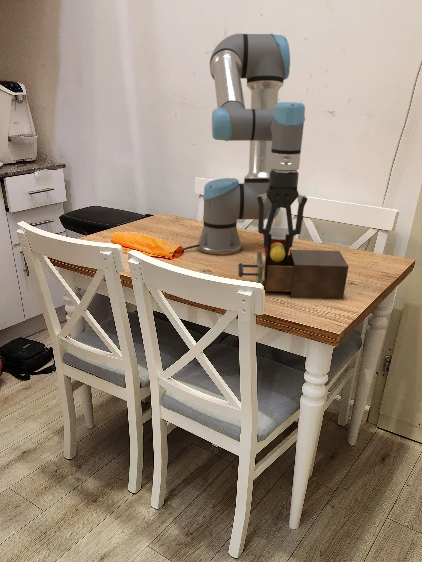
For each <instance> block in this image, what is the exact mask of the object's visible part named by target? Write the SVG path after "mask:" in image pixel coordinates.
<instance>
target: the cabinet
mask: <svg viewBox="0 0 422 562" xmlns="http://www.w3.org/2000/svg"><path fill="white" fill-rule="evenodd" d="M289 255H291V257H292V261H293V264H294V273H293V282H292V291H291V292H289V295H290V298H296V299H297V298H298V299H299V298H300V299H325V300H326V299H327V300H328V299H329V300H343V299H344V297H345V296H344V295H345V291H346V283H347V278H348V272H349V265H348V263H347V261H346V259H345V257H344V256H343V254H342V252H341V251H340V250H321V249H318V250H317V249H290V251H289Z"/></svg>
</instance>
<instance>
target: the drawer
mask: <svg viewBox="0 0 422 562" xmlns="http://www.w3.org/2000/svg"><path fill="white" fill-rule="evenodd" d="M263 262H264V263H263ZM237 267H238V269H237V273H238V277H240V278H242V277H243V276H247V277H249V276H250V277H251V276H253V277H255V283H256V282H257V283H261V284H262V285H263V279H264V288H265V291H266V292H286V293H287V292H289V293H290V292H291V291H292V282H293V273H294V264H293V261H292V257H291V255H290V253H289V254H288V255H287V260H284V259H283V260H282V261H279V262H276V261H273V260H272V259H271V256H270V260H267V254H266V258H265V261H263V254H262V252H261V251H258V252H257V253H256V264H243V263H242V262H240V263H238V266H237ZM244 268H255V272H244Z"/></svg>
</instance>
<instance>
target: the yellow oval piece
mask: <svg viewBox="0 0 422 562" xmlns="http://www.w3.org/2000/svg"><path fill="white" fill-rule="evenodd" d="M270 256H271V259H272V260H273V261H276V262H279V261H282V260H283V259H284V257H285V250H284V247H283V245H282V244H281V243H278V242H276V243H273V244H272V245H271V250H270Z"/></svg>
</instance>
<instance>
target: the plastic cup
mask: <svg viewBox="0 0 422 562" xmlns="http://www.w3.org/2000/svg"><path fill="white" fill-rule="evenodd" d="M263 228H264V229H265V227H263ZM269 234H271V236H272V238H271V245H272V244H273V243H276V242H278V243H281V244H282V245H283V247H285V237H286V234H289V233H288V227H283V226H271V230H270V233H269ZM262 236H263V237H262V238H263V239H264V235H263V234H262ZM296 236H297V235H294V237H293V240H294V239H295V238H296ZM290 250H291V248H288V254H289V255H290ZM266 254H267V247H264V255H265V256H264V257H265V258H266Z"/></svg>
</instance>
